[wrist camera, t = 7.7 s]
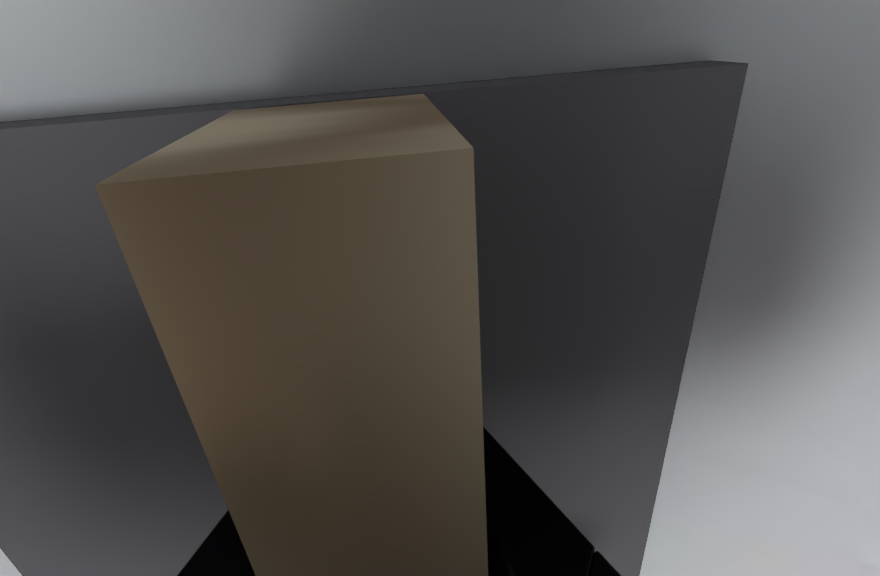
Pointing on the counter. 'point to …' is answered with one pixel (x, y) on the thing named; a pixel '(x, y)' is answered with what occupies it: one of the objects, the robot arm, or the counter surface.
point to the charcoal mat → (500, 310)
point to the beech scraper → (323, 328)
